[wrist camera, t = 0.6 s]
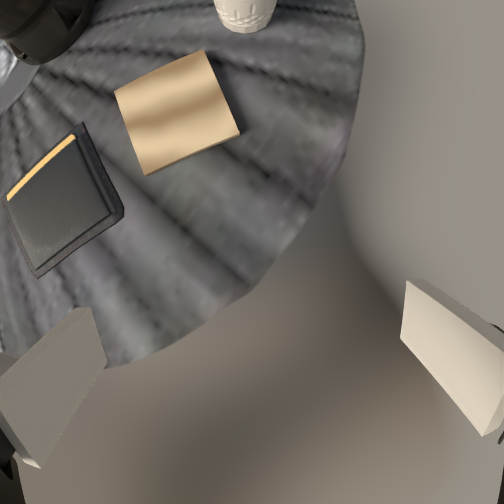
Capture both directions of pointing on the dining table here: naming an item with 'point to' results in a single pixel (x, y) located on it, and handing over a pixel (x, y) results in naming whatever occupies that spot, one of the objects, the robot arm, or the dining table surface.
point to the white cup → (245, 14)
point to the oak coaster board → (175, 112)
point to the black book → (62, 202)
